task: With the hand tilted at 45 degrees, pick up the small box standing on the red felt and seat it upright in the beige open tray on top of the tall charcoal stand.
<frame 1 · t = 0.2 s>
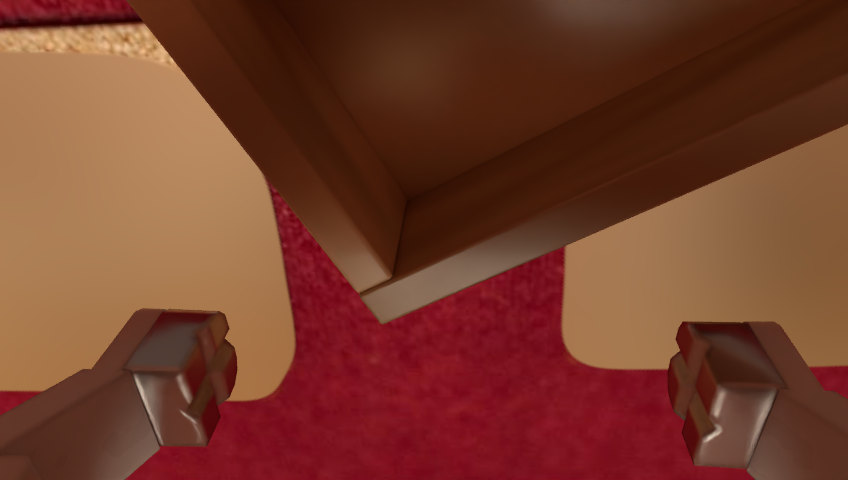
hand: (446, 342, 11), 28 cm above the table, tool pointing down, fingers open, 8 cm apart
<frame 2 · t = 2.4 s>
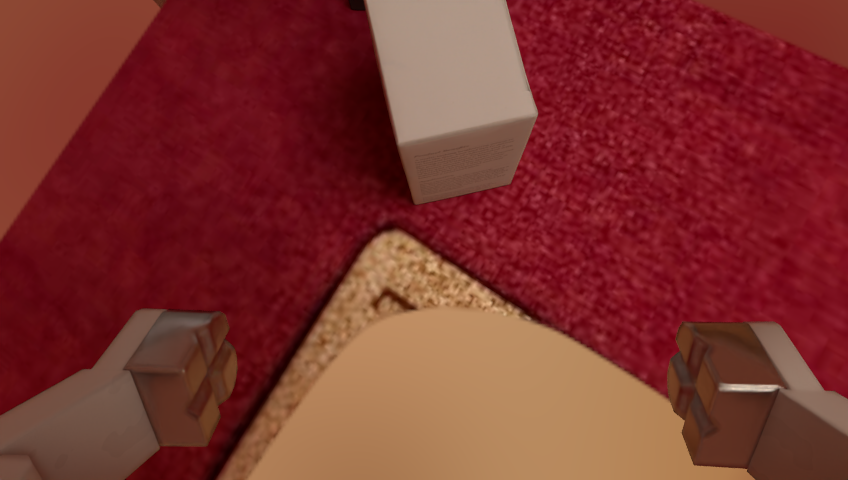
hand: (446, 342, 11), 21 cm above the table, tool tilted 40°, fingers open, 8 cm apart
small box: (446, 130, 34), on the table
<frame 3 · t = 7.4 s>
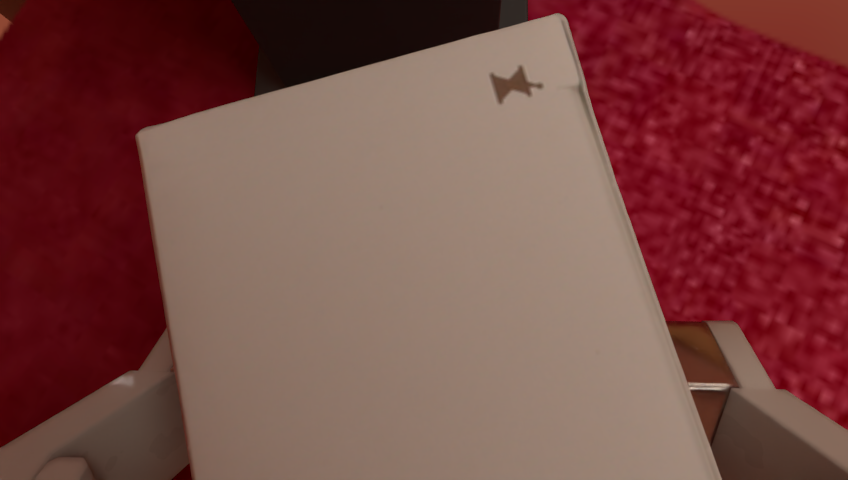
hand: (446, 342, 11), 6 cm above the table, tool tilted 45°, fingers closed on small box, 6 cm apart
small box: (454, 377, 17), on the table, touching gripper
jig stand: (397, 21, 19), on the table
when the fingers open (31 cm above the table, at t = 17.1 s): small box stays where it is, resting on beige open tray.
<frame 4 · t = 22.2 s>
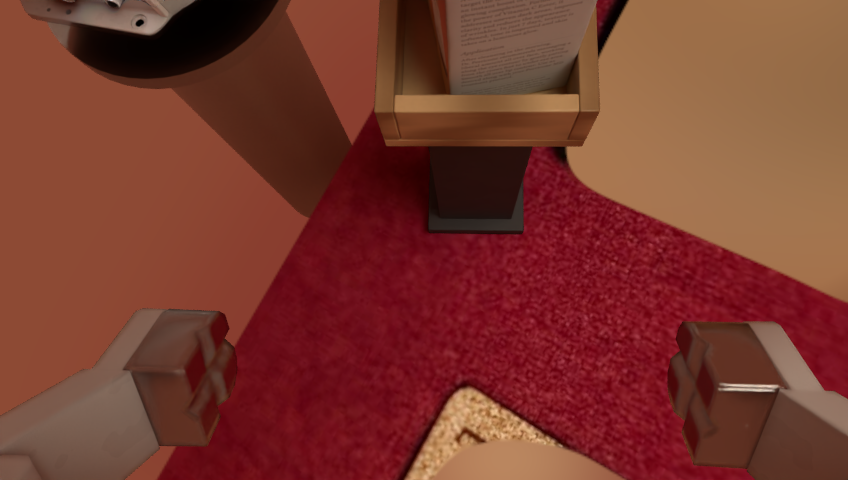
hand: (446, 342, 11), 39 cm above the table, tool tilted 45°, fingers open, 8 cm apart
beige open tray: (483, 39, 29), resting on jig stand
small box: (490, 27, 29), point 25 cm above the table, touching beige open tray
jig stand: (475, 189, 52), on the table
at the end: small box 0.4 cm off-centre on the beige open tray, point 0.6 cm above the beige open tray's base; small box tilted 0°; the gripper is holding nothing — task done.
